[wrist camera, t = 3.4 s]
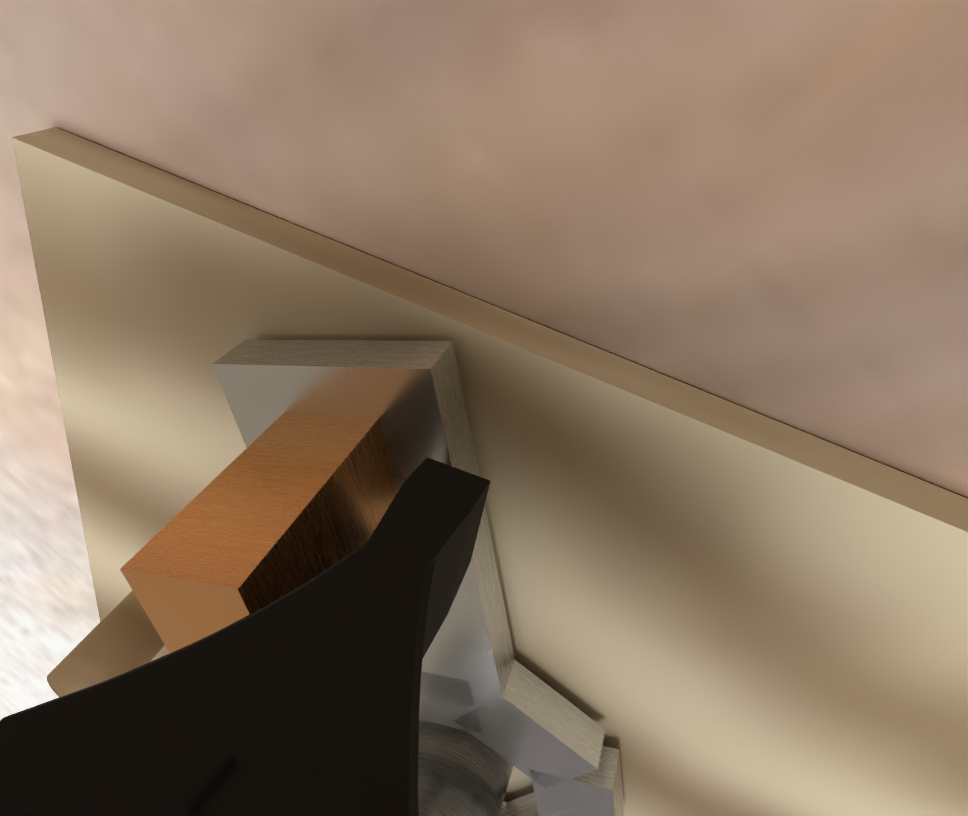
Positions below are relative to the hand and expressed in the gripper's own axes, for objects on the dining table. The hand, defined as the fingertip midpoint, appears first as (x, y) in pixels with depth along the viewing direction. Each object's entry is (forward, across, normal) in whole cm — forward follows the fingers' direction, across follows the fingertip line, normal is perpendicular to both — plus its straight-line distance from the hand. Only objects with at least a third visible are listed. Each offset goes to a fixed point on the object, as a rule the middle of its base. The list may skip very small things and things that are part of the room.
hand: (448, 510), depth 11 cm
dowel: (+3, +8, +8) cm, 11 cm away
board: (+3, 0, +7) cm, 8 cm away
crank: (+2, 0, +6) cm, 7 cm away
